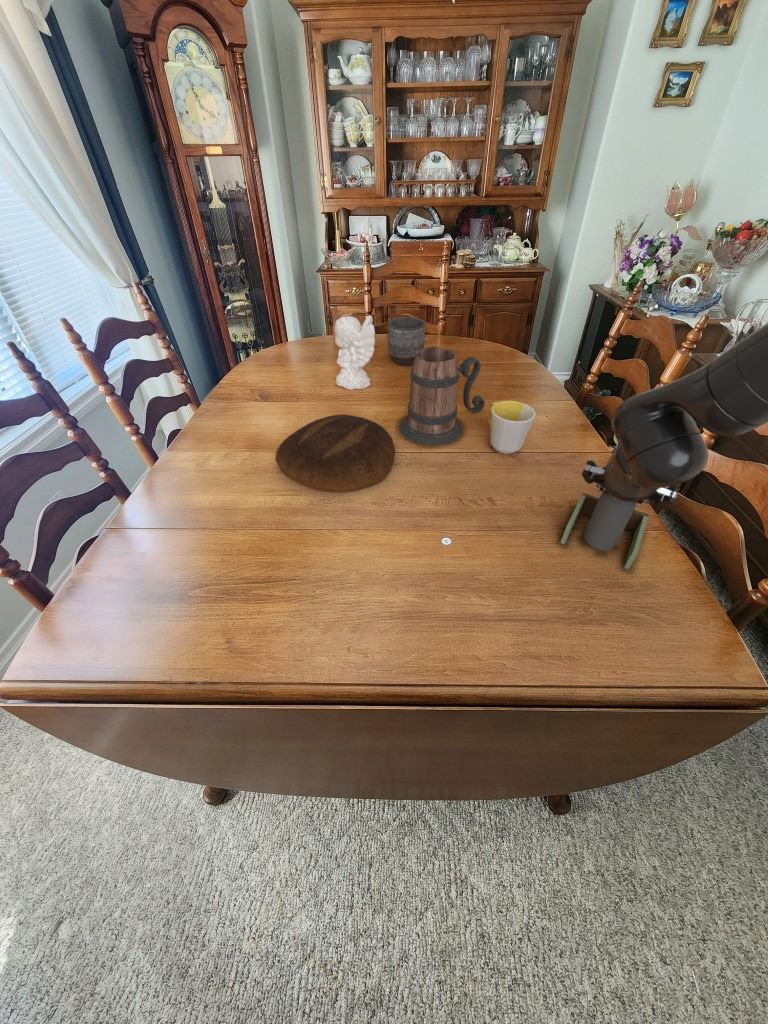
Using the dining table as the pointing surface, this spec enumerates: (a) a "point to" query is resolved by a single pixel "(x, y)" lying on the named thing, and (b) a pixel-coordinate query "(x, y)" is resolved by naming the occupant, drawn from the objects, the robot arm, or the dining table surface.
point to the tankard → (438, 396)
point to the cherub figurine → (354, 351)
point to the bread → (337, 454)
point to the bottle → (608, 521)
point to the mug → (509, 425)
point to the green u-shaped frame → (634, 524)
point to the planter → (405, 339)
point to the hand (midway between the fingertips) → (621, 491)
